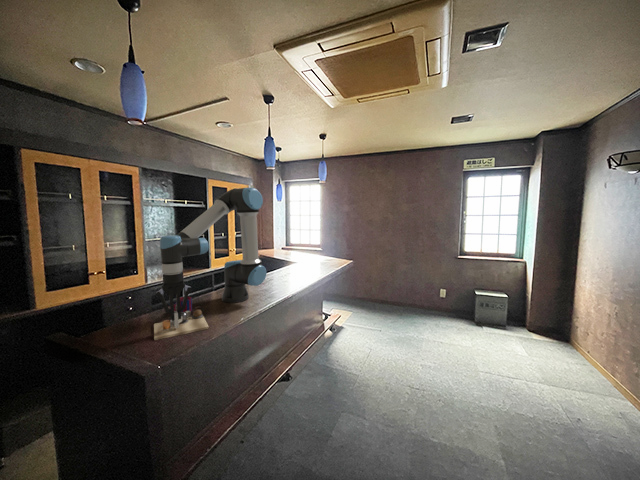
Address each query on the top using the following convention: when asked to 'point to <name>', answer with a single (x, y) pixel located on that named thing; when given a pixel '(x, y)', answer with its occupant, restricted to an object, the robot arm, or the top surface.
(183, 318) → the lever
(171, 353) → the top surface
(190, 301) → the mug
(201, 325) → the press base
